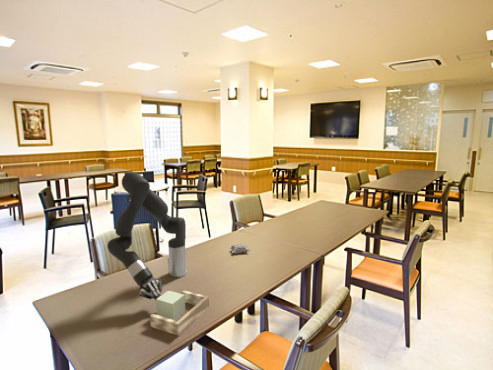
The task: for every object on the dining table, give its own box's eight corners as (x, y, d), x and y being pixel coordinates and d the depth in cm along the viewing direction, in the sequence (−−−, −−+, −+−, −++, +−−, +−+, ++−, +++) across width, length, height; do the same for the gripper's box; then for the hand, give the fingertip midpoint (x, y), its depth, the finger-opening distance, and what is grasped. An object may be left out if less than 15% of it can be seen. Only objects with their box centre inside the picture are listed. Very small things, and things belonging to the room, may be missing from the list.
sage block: (157, 316, 128) (156, 299, 127) (169, 306, 136) (168, 290, 134) (173, 321, 125) (172, 303, 123) (185, 311, 132) (184, 294, 130)
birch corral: (150, 326, 121) (149, 315, 120) (183, 299, 141) (183, 290, 140) (179, 336, 115) (178, 324, 114) (209, 306, 135) (208, 296, 134)
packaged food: (249, 253, 195) (249, 246, 194) (232, 255, 192) (232, 248, 192) (246, 249, 203) (246, 242, 203) (230, 250, 201) (229, 244, 200)
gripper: (132, 274, 127) (155, 306, 124) (154, 262, 139) (176, 291, 136) (124, 283, 131) (147, 315, 127) (146, 270, 142) (167, 299, 139)
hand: (162, 302), depth 132 cm, fingers closed
